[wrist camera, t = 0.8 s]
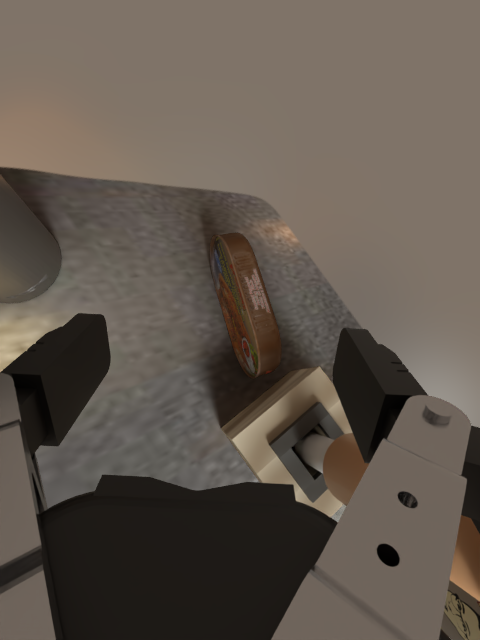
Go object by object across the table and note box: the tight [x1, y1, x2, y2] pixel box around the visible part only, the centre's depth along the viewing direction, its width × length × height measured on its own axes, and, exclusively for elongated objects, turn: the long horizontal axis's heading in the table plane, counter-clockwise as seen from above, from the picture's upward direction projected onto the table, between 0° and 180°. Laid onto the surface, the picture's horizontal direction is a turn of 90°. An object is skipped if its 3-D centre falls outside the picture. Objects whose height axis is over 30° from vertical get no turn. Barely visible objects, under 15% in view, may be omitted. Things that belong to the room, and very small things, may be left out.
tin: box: [210, 233, 282, 379], centre depth 34 cm, size 15×3×8 cm, turn 17°
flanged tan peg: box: [295, 432, 480, 601], centre depth 19 cm, size 6×6×21 cm
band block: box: [221, 366, 353, 517], centre depth 31 cm, size 10×10×9 cm
